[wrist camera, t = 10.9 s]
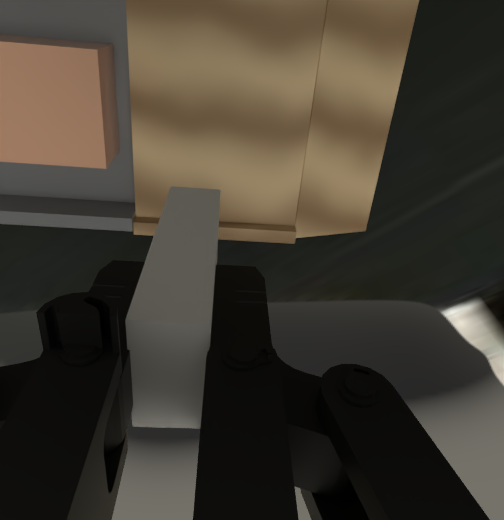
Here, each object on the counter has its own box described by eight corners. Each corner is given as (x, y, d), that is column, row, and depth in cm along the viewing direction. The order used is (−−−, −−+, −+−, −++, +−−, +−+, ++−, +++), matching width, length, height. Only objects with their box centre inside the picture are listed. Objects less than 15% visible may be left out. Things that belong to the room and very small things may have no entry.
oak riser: (133, -55, 28) (119, -64, 24) (429, -24, 30) (457, -28, 26) (143, 211, 37) (133, 234, 33) (370, 225, 38) (384, 248, 35)
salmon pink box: (-16, 32, 28) (-51, 36, 25) (113, 44, 29) (97, 49, 26) (4, 142, 32) (-23, 159, 28) (119, 150, 33) (106, 168, 29)
